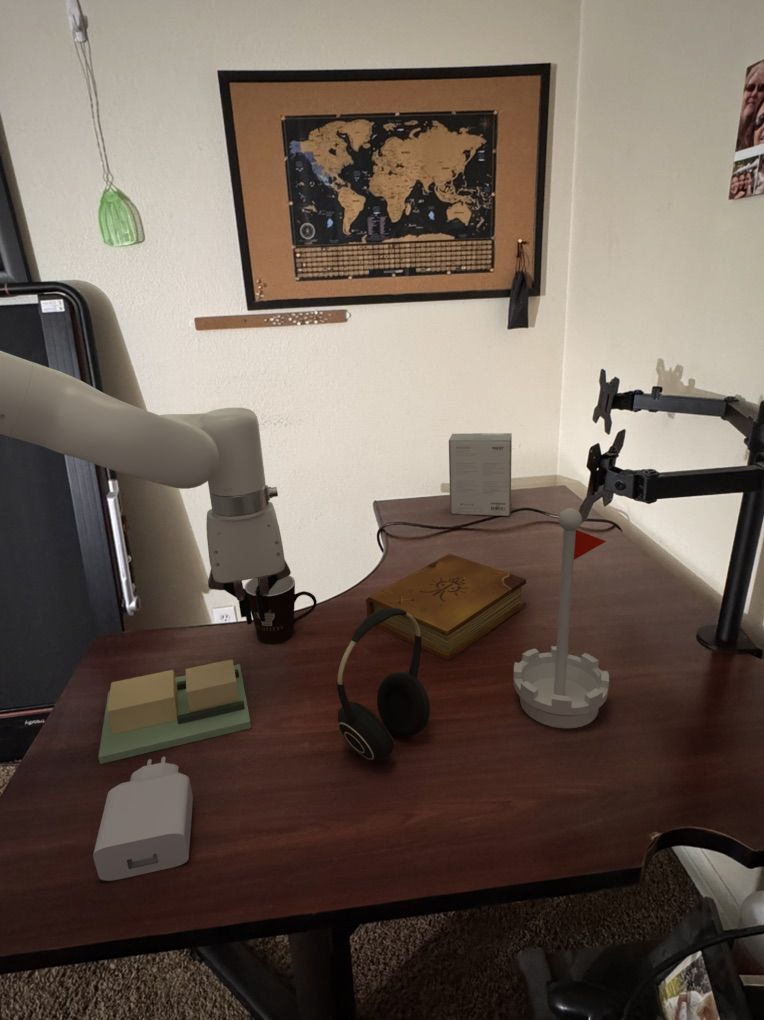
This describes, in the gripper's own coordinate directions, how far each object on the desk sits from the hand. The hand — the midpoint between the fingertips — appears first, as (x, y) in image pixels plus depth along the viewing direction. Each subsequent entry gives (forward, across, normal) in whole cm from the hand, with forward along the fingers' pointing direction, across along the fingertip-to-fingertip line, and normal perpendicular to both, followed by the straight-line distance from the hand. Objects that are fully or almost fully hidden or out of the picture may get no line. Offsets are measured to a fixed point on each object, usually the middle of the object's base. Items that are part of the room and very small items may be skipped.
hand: (255, 617), depth 92 cm
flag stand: (+13, -40, +18) cm, 46 cm away
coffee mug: (+13, -5, -15) cm, 21 cm away
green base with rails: (+13, +13, 0) cm, 18 cm away
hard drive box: (+13, -64, -57) cm, 87 cm away
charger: (+13, +16, +20) cm, 29 cm away
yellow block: (+12, +8, 0) cm, 14 cm away
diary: (+13, -35, -11) cm, 39 cm away
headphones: (+13, -14, +17) cm, 26 cm away
